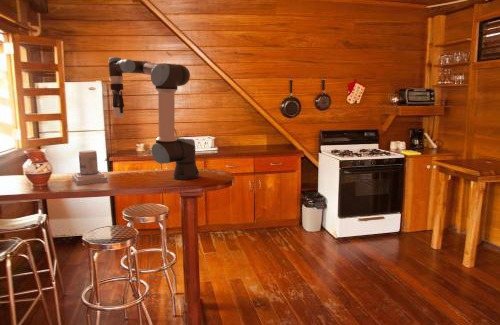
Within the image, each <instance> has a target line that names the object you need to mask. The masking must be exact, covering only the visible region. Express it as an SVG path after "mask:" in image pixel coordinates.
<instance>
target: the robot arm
mask: <svg viewBox="0 0 500 325" xmlns="http://www.w3.org/2000/svg"><path fill="white" fill-rule="evenodd" d="M108 73H109V78H108V80H109V83H110V85H109V87H110V90H111V91H112V107H113V117H114V119H116V118H117V119H119V120H120V119H125V113H124V110H125V109H124V108H125V103H124V96H123V92H122V91H123V90H124V79H123V78H124V77H123V74H143V75H147V76H150V81H151V83H152V84H153V85H154V86H155V90H156V91H157V94H158V95H157V96H158V102H157V103H158V136H157V137H156V139H155V143H154V144H152V146H151V150H150V151H151V156H152V158H153V159H154V161H155V162H156V163H158V164H160V165H163V164H164V165H165V164H167V165H168V164H170V163H174V162H175V167H174V171H173V173H172V174H173V176H172V178H173V179H175V180H186V181H187V180H194V179H198V178H200V172H199V169H198V165H197V161H196V160H197V158H196V141H195V140H194V139H192V138H179V137H178V138H177V137H176V136H175V120H176V119H175V113H176V112H175V104H176V103H175V101H176V100H175V99H176V97H175V95H176V94H175V93H176V92H177V91H178V87H182V86H185V85H186V84H188V83H189V81H190V79H191V73H190V70H189V69H188V67H186V66H185V65H183V64H173V63H155V62H151V61H146V60H144V61H143V60H132V59H128V58H127V59H125V58H124V59H122V58H121V57H118V56H117V57H116V56H115V57H113V56H112V57H109V58H108Z"/></svg>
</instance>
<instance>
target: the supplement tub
mask: <svg viewBox="0 0 500 325" xmlns="http://www.w3.org/2000/svg"><path fill="white" fill-rule="evenodd" d="M78 159H79V160H78V162H79V173H80V176H89V175H98V171H99V170H98V156H97V150H92V149H89V150H86V149H85V150H81V151H80V150H79V151H78Z"/></svg>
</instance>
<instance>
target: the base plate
mask: <svg viewBox="0 0 500 325" xmlns="http://www.w3.org/2000/svg"><path fill="white" fill-rule="evenodd" d="M71 178H72V180H73V182H74V183H75V184H76V186H81V185H89V184H90V183H92V184H99V183H98V182H100V183H107V182H108V176H106V175H105V173H103V172H102V171H101V170H98V175H89V176H80V172H74V174H72V175H71ZM90 185H91V184H90Z"/></svg>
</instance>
